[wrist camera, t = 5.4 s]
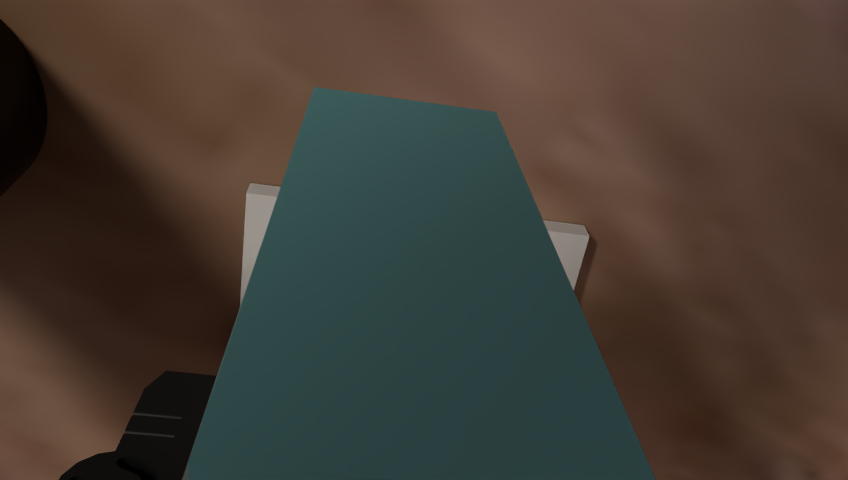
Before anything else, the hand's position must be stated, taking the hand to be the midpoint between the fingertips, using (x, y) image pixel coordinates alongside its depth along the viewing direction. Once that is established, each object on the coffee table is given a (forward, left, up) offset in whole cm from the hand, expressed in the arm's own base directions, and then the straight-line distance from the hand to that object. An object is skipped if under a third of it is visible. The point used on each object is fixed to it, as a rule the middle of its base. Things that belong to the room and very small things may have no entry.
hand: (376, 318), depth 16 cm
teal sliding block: (0, 0, -1) cm, 1 cm away
